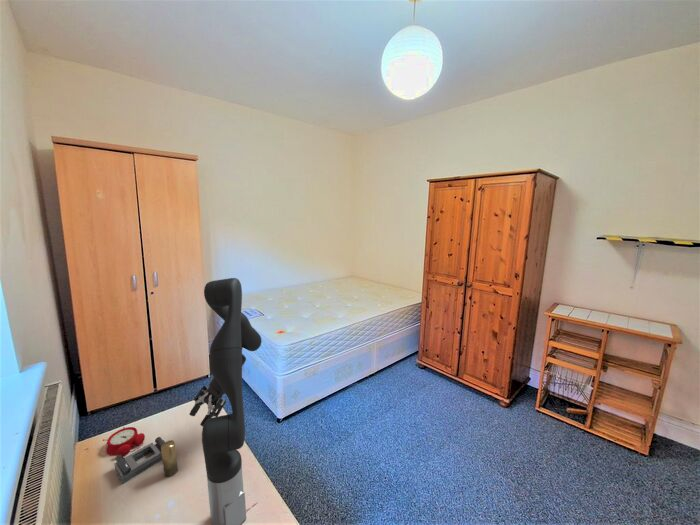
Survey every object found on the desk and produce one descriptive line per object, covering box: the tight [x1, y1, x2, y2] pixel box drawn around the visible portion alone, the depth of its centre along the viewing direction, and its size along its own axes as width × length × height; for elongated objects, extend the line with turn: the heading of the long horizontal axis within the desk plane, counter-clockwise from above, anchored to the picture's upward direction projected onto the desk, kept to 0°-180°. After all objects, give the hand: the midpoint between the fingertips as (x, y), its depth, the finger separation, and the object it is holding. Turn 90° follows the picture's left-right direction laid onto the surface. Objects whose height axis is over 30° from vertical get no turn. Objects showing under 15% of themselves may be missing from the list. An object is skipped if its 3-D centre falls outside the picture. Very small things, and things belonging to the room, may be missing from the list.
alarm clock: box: [102, 426, 146, 457], centre depth 109 cm, size 10×6×15 cm
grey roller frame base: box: [113, 436, 166, 484], centre depth 102 cm, size 9×15×5 cm, turn 143°
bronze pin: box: [161, 439, 179, 478], centre depth 98 cm, size 4×4×11 cm
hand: (196, 420), depth 104 cm, fingers open, 8 cm apart
